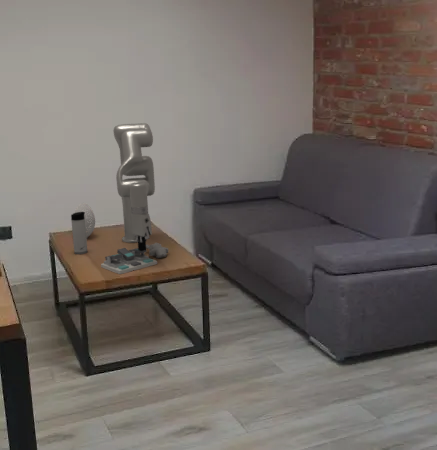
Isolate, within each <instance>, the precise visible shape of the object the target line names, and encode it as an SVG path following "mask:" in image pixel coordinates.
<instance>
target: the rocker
mask: <svg viewBox="0 0 437 450" xmlns="http://www.w3.org/2000/svg"><path fill="white" fill-rule="evenodd" d="M107 257H109V258H111V260H114V259H119V258H122V254H118V253H117V254H110V255H108V256H105V257H104V260H105V261H106V260H107Z"/></svg>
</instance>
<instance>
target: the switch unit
mask: <svg viewBox="0 0 437 450" xmlns="http://www.w3.org/2000/svg"><path fill="white" fill-rule="evenodd" d="M131 253H132V254H134V255H135V259H131V260H126V259H125V258H123V255H122V258H119V259H114V260H111V258H109V257H107V256H106V257H107V260H106V259H105V260H103V263H101V264H100V268H103V269H105V270H107V271H110V272H113V273H115V274H118V275H122V274H126V273H129V272H133V270H134V271H137V270H140V269H144V268H148V267H151V266H155V265H158V261H157V260H156V259H152V258H150V256H148V255H146V254H145V252H144V253H141V254H135V251H132V252H131Z"/></svg>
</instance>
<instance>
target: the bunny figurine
mask: <svg viewBox="0 0 437 450" xmlns="http://www.w3.org/2000/svg"><path fill="white" fill-rule="evenodd" d="M146 250H149V252H148V255H149V257H155V258H156V259H162V258H166V257H167V254H168V253H169V248H168V247H165V246H162V243H158V242H155V243H153V244H150V245H149V244H146Z"/></svg>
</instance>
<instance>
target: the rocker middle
mask: <svg viewBox="0 0 437 450" xmlns="http://www.w3.org/2000/svg"><path fill="white" fill-rule="evenodd" d="M116 253H117V254H122V255H123V258H125V259H126V260H131V259H135V255H134V254H132V253H131V252H130V251H129V249H127V248H126V247H123V248H118V249H117V251H116Z"/></svg>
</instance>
